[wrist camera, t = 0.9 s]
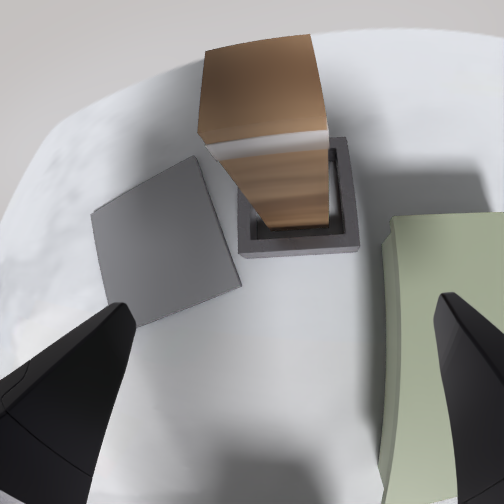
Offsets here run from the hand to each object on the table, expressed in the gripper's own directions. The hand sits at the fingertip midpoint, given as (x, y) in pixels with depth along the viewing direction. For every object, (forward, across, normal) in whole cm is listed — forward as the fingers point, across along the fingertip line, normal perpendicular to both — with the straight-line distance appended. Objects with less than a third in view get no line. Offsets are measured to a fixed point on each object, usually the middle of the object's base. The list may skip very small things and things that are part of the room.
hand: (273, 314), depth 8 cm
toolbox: (+7, -10, +11) cm, 17 cm away
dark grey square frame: (+14, 0, +3) cm, 15 cm away
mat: (+13, +11, +5) cm, 18 cm away
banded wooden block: (+14, 0, +3) cm, 15 cm away
